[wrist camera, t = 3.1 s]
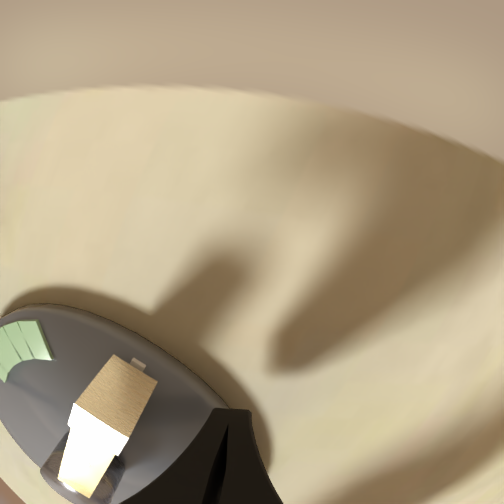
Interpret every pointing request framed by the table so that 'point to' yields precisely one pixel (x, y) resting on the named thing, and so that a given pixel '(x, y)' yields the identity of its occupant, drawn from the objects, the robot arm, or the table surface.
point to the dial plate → (78, 379)
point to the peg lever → (98, 435)
